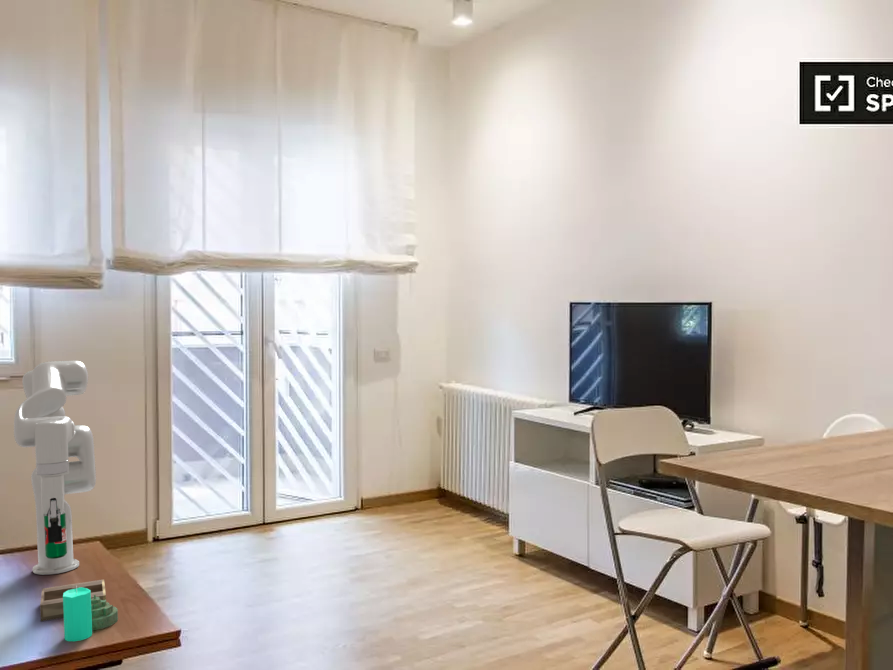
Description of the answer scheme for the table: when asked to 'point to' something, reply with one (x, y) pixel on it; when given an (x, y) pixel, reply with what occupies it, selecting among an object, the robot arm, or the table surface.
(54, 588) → the open cardboard box
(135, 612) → the table surface
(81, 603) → the candle
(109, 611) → the decorative artifact
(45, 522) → the soda can
